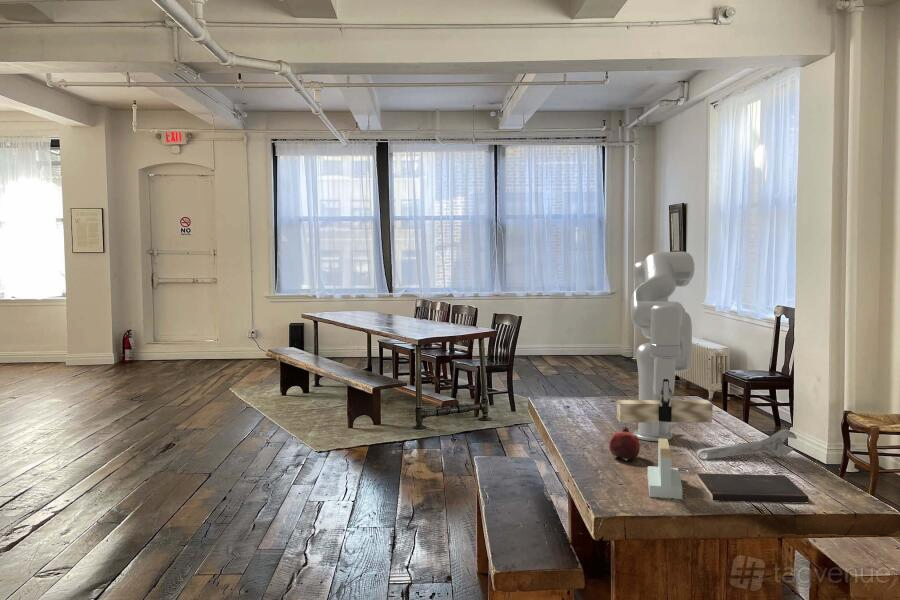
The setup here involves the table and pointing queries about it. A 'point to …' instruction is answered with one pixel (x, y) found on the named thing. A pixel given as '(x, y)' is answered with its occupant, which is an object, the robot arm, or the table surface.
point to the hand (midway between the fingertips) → (664, 417)
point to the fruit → (624, 445)
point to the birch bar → (650, 411)
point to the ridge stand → (664, 475)
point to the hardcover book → (751, 488)
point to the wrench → (752, 447)
